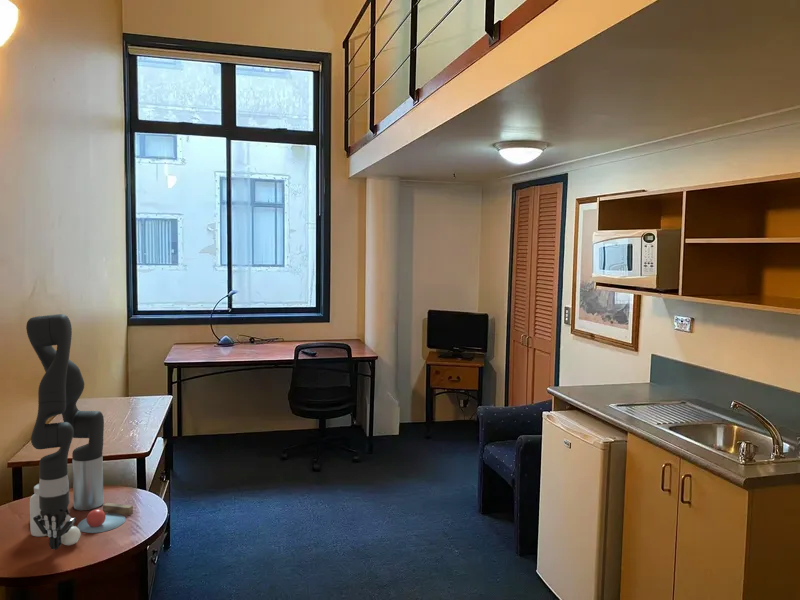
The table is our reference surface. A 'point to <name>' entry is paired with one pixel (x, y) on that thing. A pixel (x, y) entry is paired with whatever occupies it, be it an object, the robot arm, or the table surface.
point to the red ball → (96, 518)
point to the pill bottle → (35, 513)
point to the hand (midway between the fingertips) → (55, 548)
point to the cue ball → (71, 536)
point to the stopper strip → (118, 508)
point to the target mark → (110, 523)
